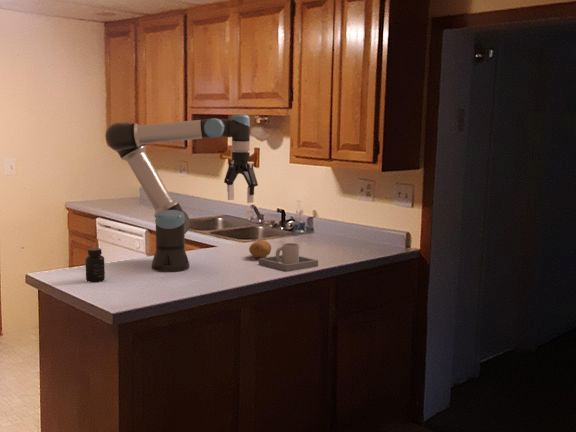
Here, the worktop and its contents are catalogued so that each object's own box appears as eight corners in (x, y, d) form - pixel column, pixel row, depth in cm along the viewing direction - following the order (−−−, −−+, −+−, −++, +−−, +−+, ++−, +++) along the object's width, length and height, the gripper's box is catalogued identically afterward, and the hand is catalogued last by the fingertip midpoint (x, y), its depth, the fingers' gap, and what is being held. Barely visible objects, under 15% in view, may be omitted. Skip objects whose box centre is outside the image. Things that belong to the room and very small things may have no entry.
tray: (286, 271, 267) (286, 265, 267) (258, 264, 280) (258, 258, 280) (318, 265, 279) (318, 260, 279) (289, 259, 292) (289, 253, 292)
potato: (273, 255, 301) (273, 238, 300) (268, 261, 288) (269, 243, 287) (252, 254, 302) (252, 237, 301) (247, 260, 289) (247, 242, 288)
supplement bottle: (82, 280, 245) (81, 248, 244) (99, 277, 250) (98, 246, 249) (91, 283, 240) (90, 251, 239) (108, 280, 245) (107, 249, 244)
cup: (299, 266, 277) (299, 246, 276) (275, 266, 276) (276, 245, 275) (298, 263, 284) (298, 243, 283) (275, 263, 283) (275, 243, 282)
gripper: (266, 152, 271) (265, 203, 273) (230, 150, 289) (229, 198, 292) (252, 152, 266) (251, 204, 268) (216, 150, 284) (216, 199, 287)
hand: (240, 201), depth 280 cm, fingers open, 13 cm apart
